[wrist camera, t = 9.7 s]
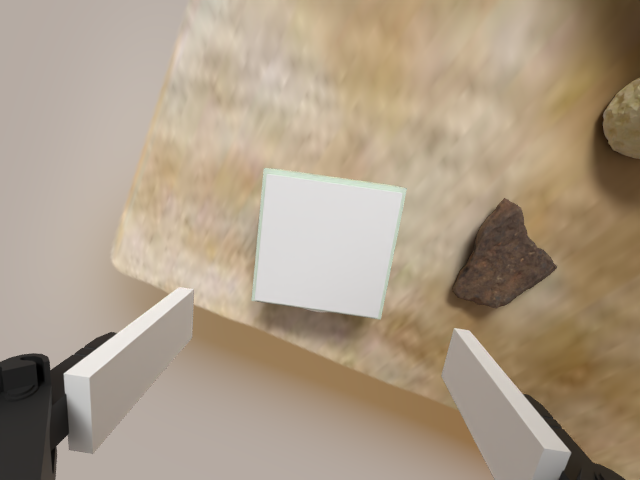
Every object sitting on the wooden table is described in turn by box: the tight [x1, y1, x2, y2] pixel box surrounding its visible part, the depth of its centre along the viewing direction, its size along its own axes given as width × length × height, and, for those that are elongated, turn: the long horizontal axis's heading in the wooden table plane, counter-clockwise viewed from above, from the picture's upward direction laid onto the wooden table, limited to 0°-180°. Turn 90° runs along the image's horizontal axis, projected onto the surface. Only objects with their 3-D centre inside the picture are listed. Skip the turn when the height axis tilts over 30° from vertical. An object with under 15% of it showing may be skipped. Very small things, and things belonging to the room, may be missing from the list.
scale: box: [252, 168, 407, 319], centre depth 34 cm, size 15×14×8 cm
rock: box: [453, 198, 557, 308], centre depth 36 cm, size 11×10×4 cm
